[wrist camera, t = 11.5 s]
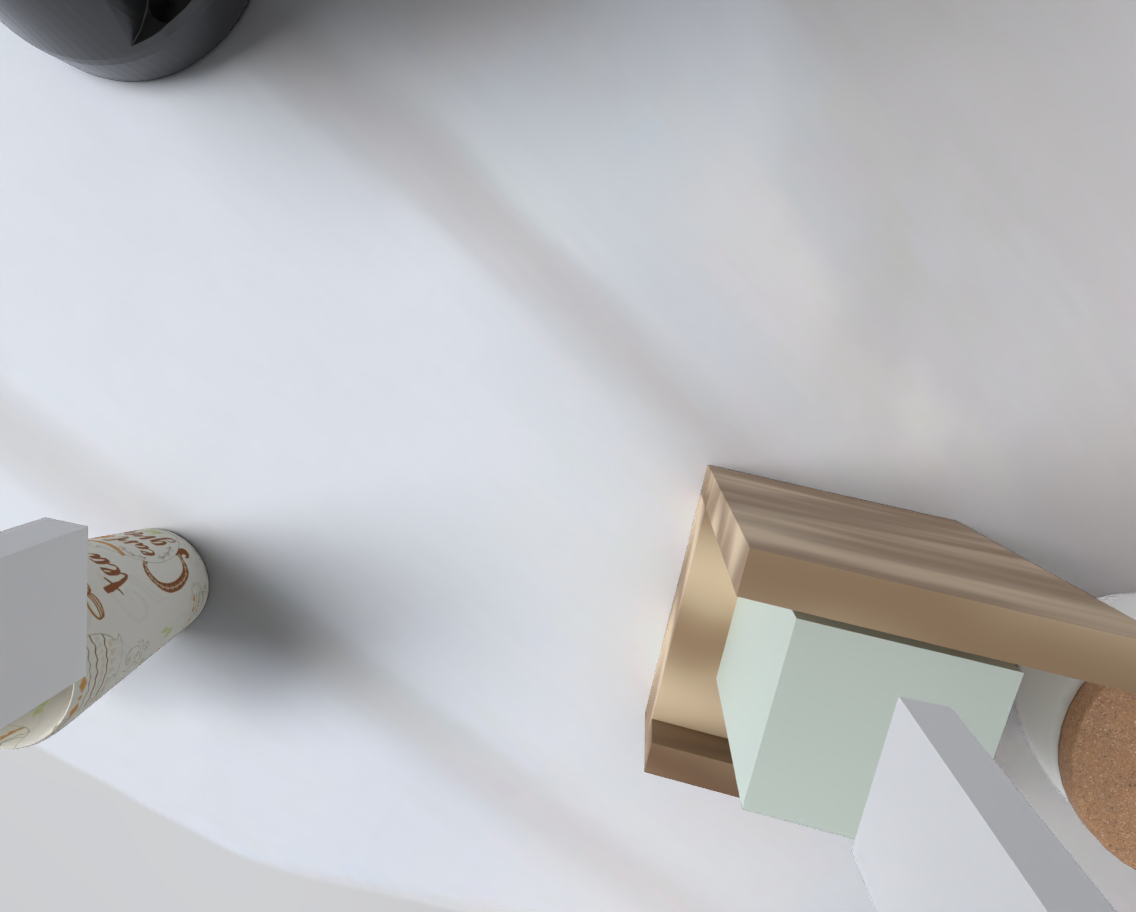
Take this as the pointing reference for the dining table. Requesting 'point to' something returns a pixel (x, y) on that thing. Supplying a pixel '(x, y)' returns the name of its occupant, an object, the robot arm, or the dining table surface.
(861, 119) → the dining table surface
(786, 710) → the cabinet block
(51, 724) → the mug
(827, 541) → the wooden stand
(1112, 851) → the lidded jar
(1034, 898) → the robot arm
